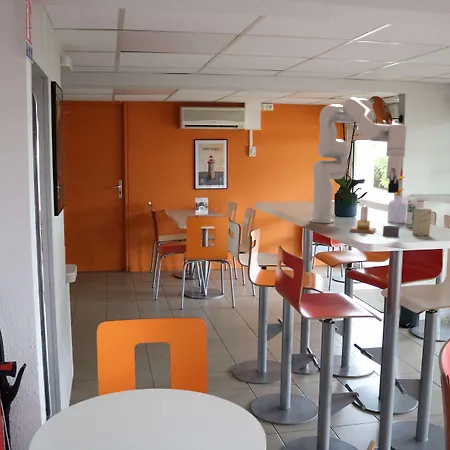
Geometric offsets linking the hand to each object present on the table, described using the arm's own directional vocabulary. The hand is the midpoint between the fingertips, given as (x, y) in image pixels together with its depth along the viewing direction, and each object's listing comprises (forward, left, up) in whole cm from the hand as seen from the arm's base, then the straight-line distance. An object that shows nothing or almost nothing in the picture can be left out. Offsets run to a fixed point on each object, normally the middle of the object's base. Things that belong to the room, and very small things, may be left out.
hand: (393, 192), depth 243 cm
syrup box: (-39, +7, -19) cm, 45 cm away
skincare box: (-11, +12, -19) cm, 26 cm away
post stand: (-6, -13, -19) cm, 24 cm away
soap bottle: (-56, -3, -19) cm, 60 cm away
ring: (0, 0, -19) cm, 19 cm away
